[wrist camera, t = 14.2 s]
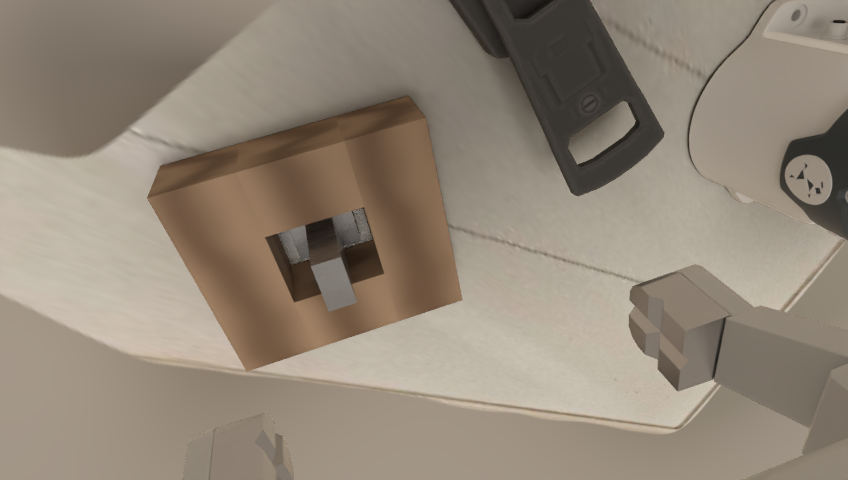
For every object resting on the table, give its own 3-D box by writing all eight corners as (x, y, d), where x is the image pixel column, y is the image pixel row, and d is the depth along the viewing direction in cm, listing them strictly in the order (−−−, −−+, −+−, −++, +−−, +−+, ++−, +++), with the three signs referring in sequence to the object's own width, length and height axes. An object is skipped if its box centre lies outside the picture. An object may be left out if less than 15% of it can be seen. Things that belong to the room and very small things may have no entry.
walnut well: (408, 95, 38) (426, 117, 34) (444, 266, 47) (462, 300, 43) (160, 165, 36) (147, 198, 32) (248, 329, 45) (246, 371, 41)
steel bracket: (345, 192, 41) (363, 250, 34) (359, 234, 43) (377, 296, 36) (283, 211, 40) (287, 273, 33) (300, 252, 42) (307, 318, 35)
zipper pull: (574, 210, 39) (386, -141, 25) (536, 174, 44) (364, -131, 30) (677, 139, 38) (542, -266, 24) (625, 111, 43) (490, -233, 29)
